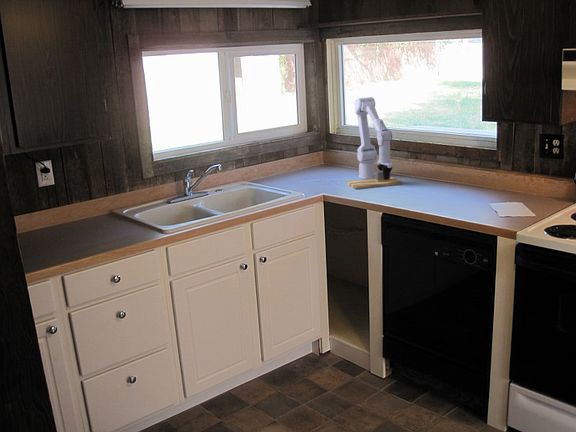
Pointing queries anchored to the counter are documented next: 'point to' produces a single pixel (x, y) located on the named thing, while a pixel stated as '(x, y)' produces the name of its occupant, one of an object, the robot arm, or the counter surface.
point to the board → (373, 183)
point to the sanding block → (380, 176)
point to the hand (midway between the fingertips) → (384, 178)
